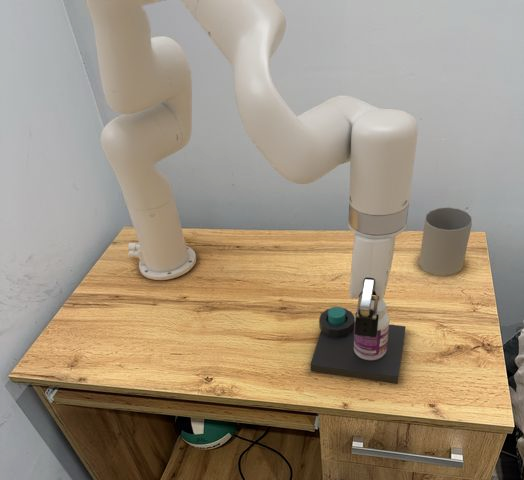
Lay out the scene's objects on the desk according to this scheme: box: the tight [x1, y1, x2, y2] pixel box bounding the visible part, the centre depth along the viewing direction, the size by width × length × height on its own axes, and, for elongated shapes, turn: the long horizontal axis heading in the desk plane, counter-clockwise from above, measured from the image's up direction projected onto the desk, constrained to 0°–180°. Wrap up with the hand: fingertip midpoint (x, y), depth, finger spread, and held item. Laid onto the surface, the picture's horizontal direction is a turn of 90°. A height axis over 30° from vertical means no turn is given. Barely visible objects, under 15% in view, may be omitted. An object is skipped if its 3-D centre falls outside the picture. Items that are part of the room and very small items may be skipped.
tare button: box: [328, 306, 346, 325], centre depth 86 cm, size 3×3×2 cm
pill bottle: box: [354, 298, 390, 360], centre depth 79 cm, size 5×5×10 cm
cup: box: [418, 207, 473, 277], centre depth 96 cm, size 8×8×10 cm
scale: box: [309, 307, 407, 384], centre depth 84 cm, size 14×13×4 cm
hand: (370, 313), depth 77 cm, fingers open, 9 cm apart
